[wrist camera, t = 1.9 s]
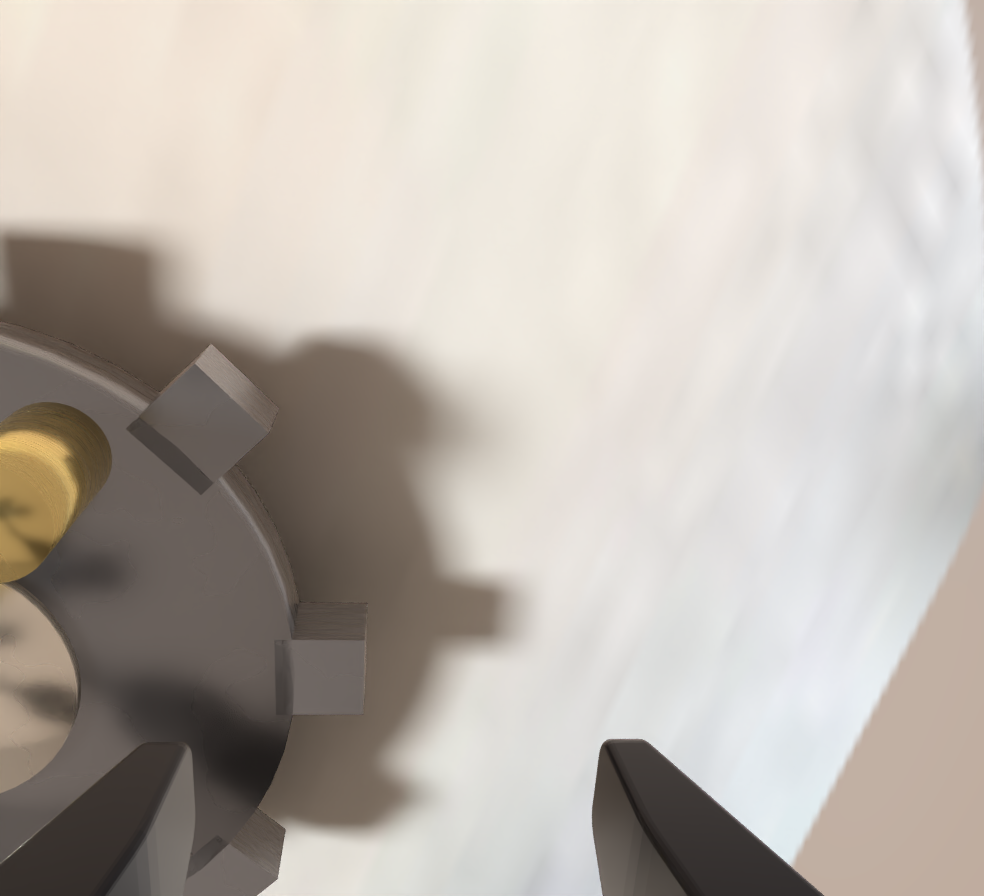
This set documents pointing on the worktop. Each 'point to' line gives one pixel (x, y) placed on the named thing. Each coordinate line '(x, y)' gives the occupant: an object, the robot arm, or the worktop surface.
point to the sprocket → (151, 600)
